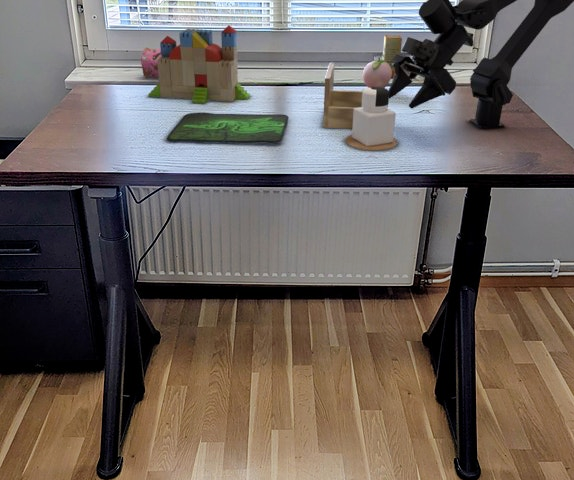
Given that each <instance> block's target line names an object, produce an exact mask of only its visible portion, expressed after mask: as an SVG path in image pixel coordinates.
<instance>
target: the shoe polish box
mask: <svg viewBox="0 0 574 480" xmlns="http://www.w3.org/2000/svg"><path fill="white" fill-rule="evenodd" d="M402 43H403V38H402V36H401V35H395V34H394V35H390V34H387V35H385V34H384V37H383V47H382V48H383V50H382V59H383V60H386V63H388V64H389V66H390V67H391V70H392V76H391V79H393V78H394V75H395V68H394V67H393V62H392V60H393V58H394V57H395V56H396V55H397V54H402V51H401V50H402Z"/></svg>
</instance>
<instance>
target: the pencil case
mask: <svg viewBox="0 0 574 480" xmlns="http://www.w3.org/2000/svg"><path fill="white" fill-rule="evenodd" d="M160 57H162V56H161V48H159V49H158V48H149V47H144V48H143V50H142V52H141V57H140V64H141V69H142V75H143V77H145V78H153V79H159V74H158V62H157V59H158V58H160Z"/></svg>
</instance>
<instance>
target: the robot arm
mask: <svg viewBox="0 0 574 480" xmlns="http://www.w3.org/2000/svg"><path fill="white" fill-rule="evenodd" d="M517 1H518V0H461V1H460V2H458V4H456V5H453V4H452V3H451V1H450V0H426V1H424V2H423V3H422V4H421V6H420V7H419V9H418V16H419V17H420V19H421V20H422V21H423V23H424V24H425V25H426V27H427V28H428V30H429V31H430V33H432V34H433V35H437V37H436V38H435V39H434V40H431V39H428V38H425V39H423V41H422V40H419V39H417V38H414V37H413V38H412V37H409V36H406V38H405V40H404V43H403V45H402V46H401V52H403V53H407V54H409V55H407V54H403V53H401V54H397V55H396V56H395V57H394V58H393V60H392V62H393V67H394V68H395V75H394V78H392V81H391V84H390V86H389V89H388V91H389V100H390V99H392V98H393V97H395V96H396V95H397V94H399V93H400V92H401V91H402V90H404V89H405V88H407V87H408V86H409V85H410V84H412V83H413V80H414V79H416V78H417V77H418V76H420V77H422V78H423V83H422V86H421V87H420V88H419V90H418V91H417V92H416V94H415V95H414V96H413V98H412V99H411V100H410V102H409V104H408V107H409V108H410V109H414V108H416V107H418V106H421V105H423V104H425V103H427V102H430V101H432V100H434V99H437V98H439V97H444V96H446V94H447V95H450V96H451V94H452V93H453V92H454V91H455V89H456V88H457V87H456V86H457V82H456V80H455V78H454V77H453V76H452V74H451V73H450V72H449V70H448V69H447V68H445V67H446V66H452V65H453V63H454V61H453V58H454V57H455V55H456V54H457V53H458V52H459V50H461V48H462V47H463V46H468V47H471V48H472V47H473V46H474V33H472V32H468V31H467V29H466V28H468V29H473V30H477V31H479V30H483V29H484V28H485V27H487V26H488V25H489V24H490V23H492V22H493V21H494V20H495V19H496V17H497V15H498V14H499V12H501V10H503V9H505V8H507V7H508V6H510V5H512V4H514V3H515V2H517ZM573 3H574V0H534V4H533V7H532V9H531V10H529V12H528V13H527V15H526V16H525V17H524V18H523V20H522V21H521V23H520V24H519V25H518V26H517V28H516V29H515V30H514V32H513V33H512V34H511V35H510V37H509V38H508V40H506V42H505V43H504V45H503V46H501V48H500V50H498V53H497V54H496V55H495V56H493V57H492V58H488V57H483V58H482V59H481V60H480V61H479V63H478V64H477V66H476V67H474V69H472V72H473V73H472V74H471V76H470V78H469V81H470V82H469V87H470V89H471V94H472V97H473V98H476V99H478V100H477V104H476V110H475V118H471V119H469V123H471V124H473V125H474V126H476V127H478V128H480V129H483V130H485V129H494V128H497V129H498V128H505V124H504V123H502V122H501V117H502V112H503V106H506V105H508V104H510V103H511V101H512V99H513V96H514V94H513V92H512V91H511V90H510V88H509V87H508V84H509V83H510V81H511V78H512V77H511V76H512V71H513V68H514V66H515V65H516V64H517V63H518V62H519V60H520V59H521V58H522V56H523V55H524V54H525V52H526V51H527V50H528V48H530V46H531V45H532V43H533V42H534V40H535V39H536V38H537V37H538V36H539V34H540V33H541V31H542V30H543V29H544V28H545V26H547V24H548V23H549V22H550V20H551V19H552V18H554V17H556V16H558V15H559V14H561V13H563V12H565V11H566V10H567V9H569V7H570V6H571V5H572V4H573ZM410 55H411V56H412V57H410Z"/></svg>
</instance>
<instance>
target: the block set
mask: <svg viewBox="0 0 574 480" xmlns="http://www.w3.org/2000/svg"><path fill="white" fill-rule="evenodd" d="M220 34H221V35H220V36H221V45H219V44H217V43H213V29H203V28H202V29H199V28H196V29H195V28H186V29H184V30H181V31H180V32H179V44H178V45H177V41H176V40H175V39H173V38H172V37H170V36H169V35H166V36H165V37H164V38H163V39H162V40H161V41H160V43H159V47H160V48H159V49H161V56H162V57H160V58H158V59H157V62H158V74H159V78H158V83H157V84H156V86H154V87H153V89H152V90H151V91H150V92H149V93H148V97H150V98H167V99H181V100H191V101H192V103H193V104H206V103H207V102H208V101H211V102H212V101H214V102H228V103H232V102H234V101H235V100H248V99H250V97H251V93H248V90H247V89H245V87H244V86H242V84H241V83H239V71H238V70H239V67H238V65H239V64H238V32H237V30H236V29H235V28H233V27H232V26H231V25H227V26H226V27H225V28H224V29H223V30H222V31H221V33H220Z"/></svg>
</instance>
